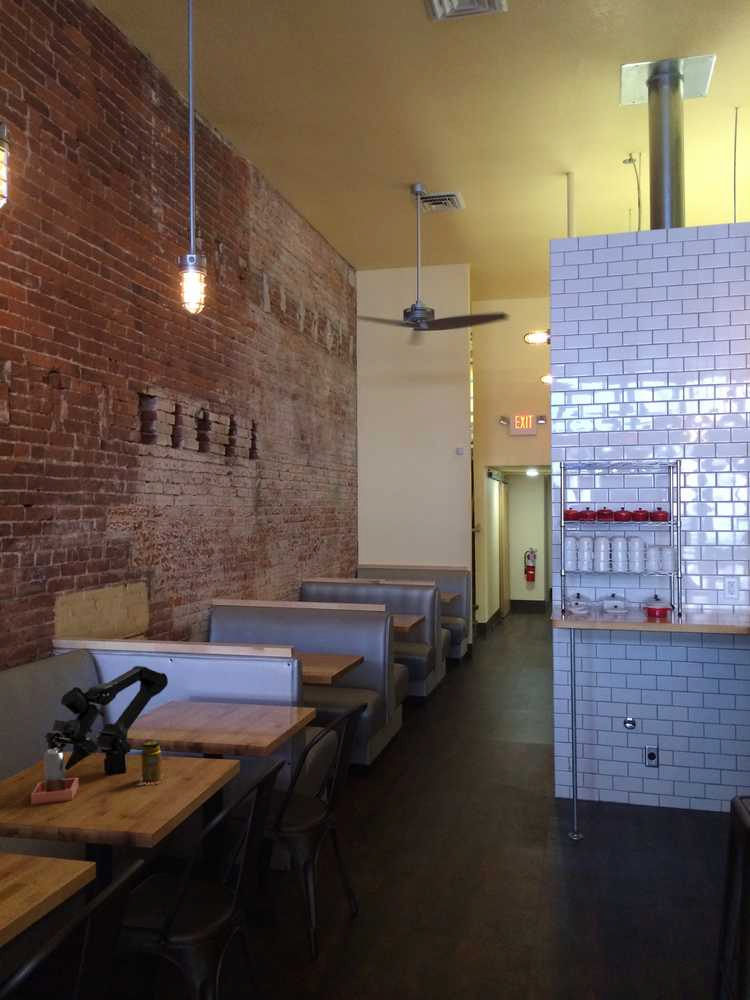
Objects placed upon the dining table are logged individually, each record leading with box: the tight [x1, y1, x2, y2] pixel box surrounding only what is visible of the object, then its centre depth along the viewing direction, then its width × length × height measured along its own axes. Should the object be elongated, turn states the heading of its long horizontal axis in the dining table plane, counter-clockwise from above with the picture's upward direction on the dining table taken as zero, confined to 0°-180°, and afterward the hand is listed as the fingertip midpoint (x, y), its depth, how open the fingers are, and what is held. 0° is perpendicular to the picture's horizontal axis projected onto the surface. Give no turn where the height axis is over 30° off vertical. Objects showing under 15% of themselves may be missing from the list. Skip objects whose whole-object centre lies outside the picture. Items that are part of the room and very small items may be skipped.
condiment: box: [136, 740, 163, 786], centre depth 250 cm, size 7×8×12 cm
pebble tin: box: [43, 747, 66, 792], centre depth 241 cm, size 6×6×14 cm
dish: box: [30, 777, 80, 806], centre depth 240 cm, size 12×12×3 cm
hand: (55, 767), depth 241 cm, fingers open, 9 cm apart
